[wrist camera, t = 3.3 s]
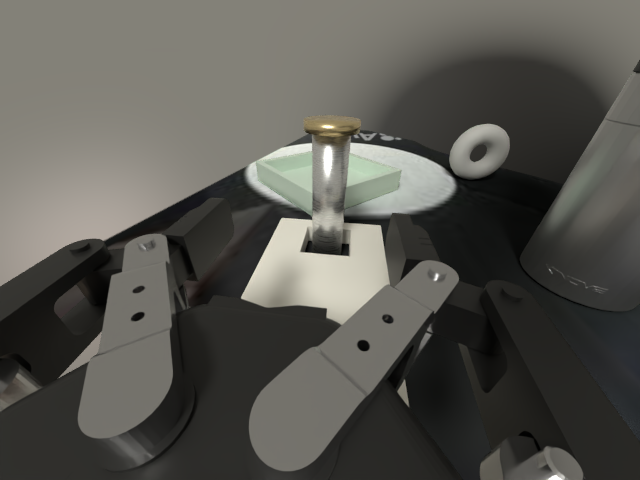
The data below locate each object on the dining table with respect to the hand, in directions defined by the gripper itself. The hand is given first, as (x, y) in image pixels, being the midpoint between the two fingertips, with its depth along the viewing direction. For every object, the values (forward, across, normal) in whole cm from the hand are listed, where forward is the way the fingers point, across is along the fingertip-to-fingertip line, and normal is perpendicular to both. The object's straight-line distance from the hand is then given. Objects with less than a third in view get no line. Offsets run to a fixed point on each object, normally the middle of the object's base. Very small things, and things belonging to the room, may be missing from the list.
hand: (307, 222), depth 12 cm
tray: (+32, +2, +10) cm, 34 cm away
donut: (+40, -26, +10) cm, 48 cm away
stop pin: (+12, 0, +11) cm, 16 cm away
